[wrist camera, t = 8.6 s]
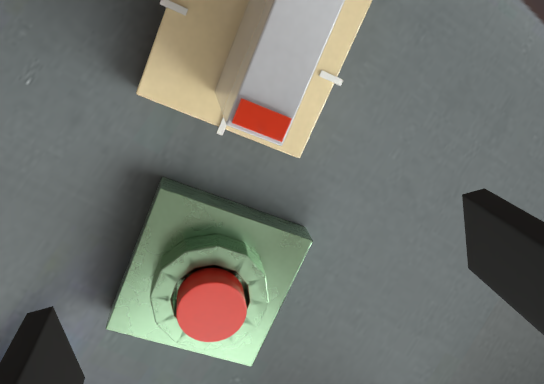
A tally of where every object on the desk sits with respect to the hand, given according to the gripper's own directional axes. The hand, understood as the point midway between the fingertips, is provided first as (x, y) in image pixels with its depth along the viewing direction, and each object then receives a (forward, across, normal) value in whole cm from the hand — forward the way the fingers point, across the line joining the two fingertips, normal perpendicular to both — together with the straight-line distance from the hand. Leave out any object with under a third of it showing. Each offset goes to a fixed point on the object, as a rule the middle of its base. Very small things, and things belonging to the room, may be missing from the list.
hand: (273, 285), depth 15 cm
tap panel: (+16, +3, +6) cm, 17 cm away
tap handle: (+14, +3, +6) cm, 16 cm away
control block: (+16, -3, -7) cm, 18 cm away
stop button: (+13, -3, -7) cm, 15 cm away
